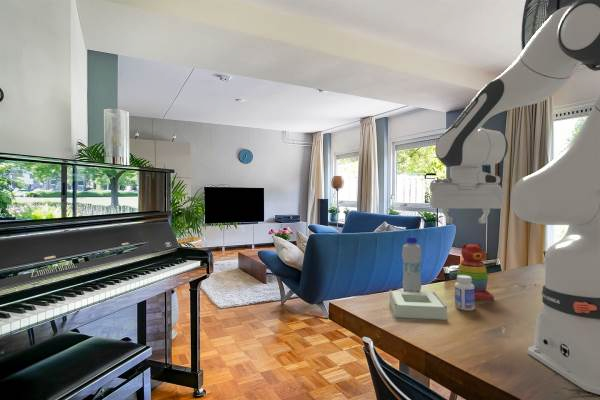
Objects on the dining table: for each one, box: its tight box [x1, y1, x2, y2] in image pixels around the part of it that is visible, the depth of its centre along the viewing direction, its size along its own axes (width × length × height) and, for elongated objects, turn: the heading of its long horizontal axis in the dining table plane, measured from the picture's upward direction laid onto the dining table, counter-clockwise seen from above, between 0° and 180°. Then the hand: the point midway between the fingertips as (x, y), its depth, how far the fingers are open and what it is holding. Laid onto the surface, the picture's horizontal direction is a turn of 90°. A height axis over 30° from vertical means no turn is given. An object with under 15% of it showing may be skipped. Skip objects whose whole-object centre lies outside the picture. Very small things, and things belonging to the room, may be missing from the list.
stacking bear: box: [456, 243, 495, 301], centre depth 114 cm, size 11×10×18 cm
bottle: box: [401, 236, 423, 292], centre depth 118 cm, size 7×7×20 cm
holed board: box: [389, 289, 448, 321], centre depth 100 cm, size 14×14×4 cm
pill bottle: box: [454, 275, 476, 312], centre depth 102 cm, size 5×5×10 cm
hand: (465, 223), depth 102 cm, fingers open, 8 cm apart
